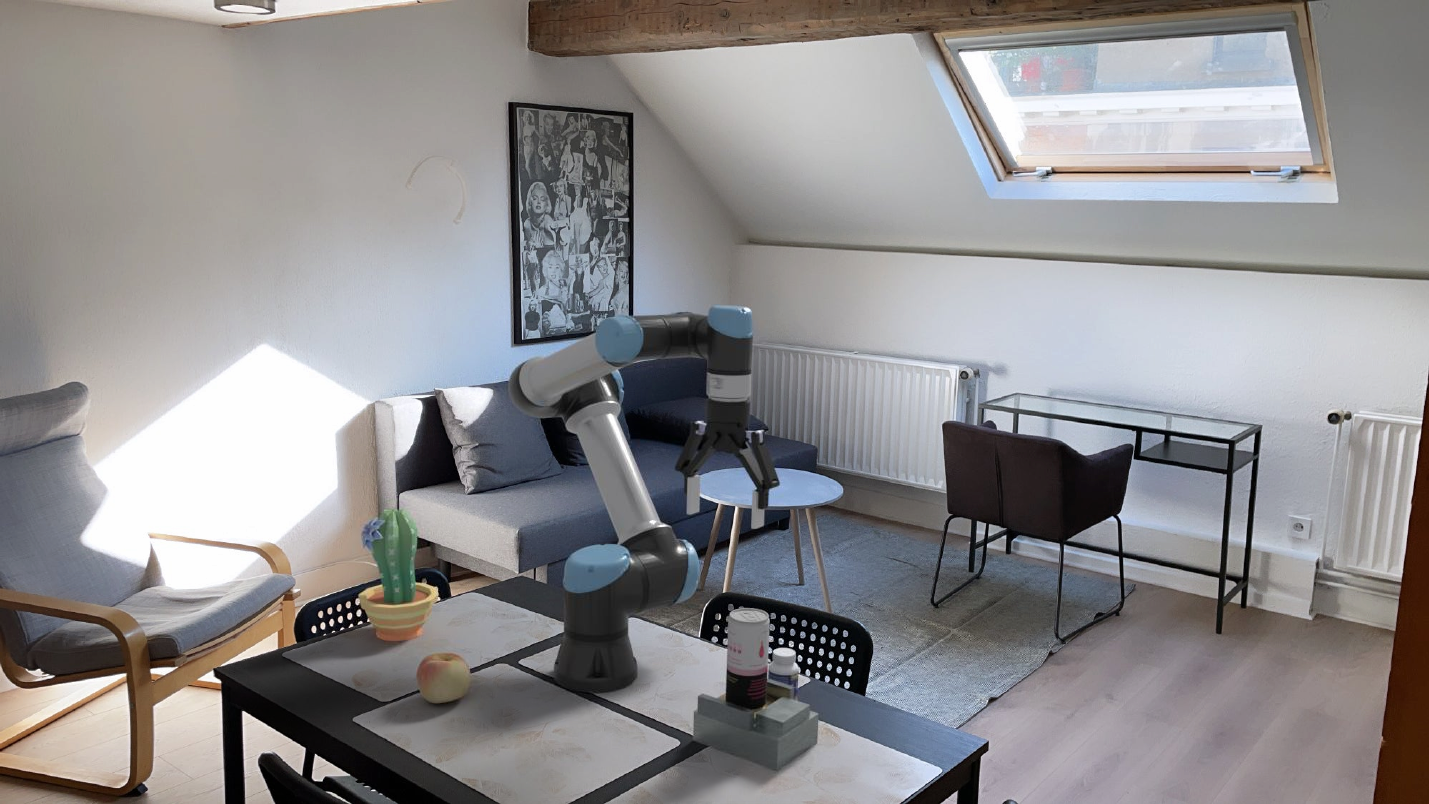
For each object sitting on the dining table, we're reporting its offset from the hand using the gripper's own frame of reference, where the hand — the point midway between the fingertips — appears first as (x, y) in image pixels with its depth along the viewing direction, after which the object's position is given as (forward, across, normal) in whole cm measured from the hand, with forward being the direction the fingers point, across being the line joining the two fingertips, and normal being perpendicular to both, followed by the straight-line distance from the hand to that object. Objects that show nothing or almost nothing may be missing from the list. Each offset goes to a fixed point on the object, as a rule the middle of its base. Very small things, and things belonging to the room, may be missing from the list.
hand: (724, 520), depth 189 cm
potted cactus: (+32, -66, -17) cm, 75 cm away
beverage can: (+26, +13, -11) cm, 31 cm away
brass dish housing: (+32, +15, -11) cm, 37 cm away
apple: (+32, -35, -32) cm, 57 cm away
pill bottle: (+32, +10, +5) cm, 34 cm away
